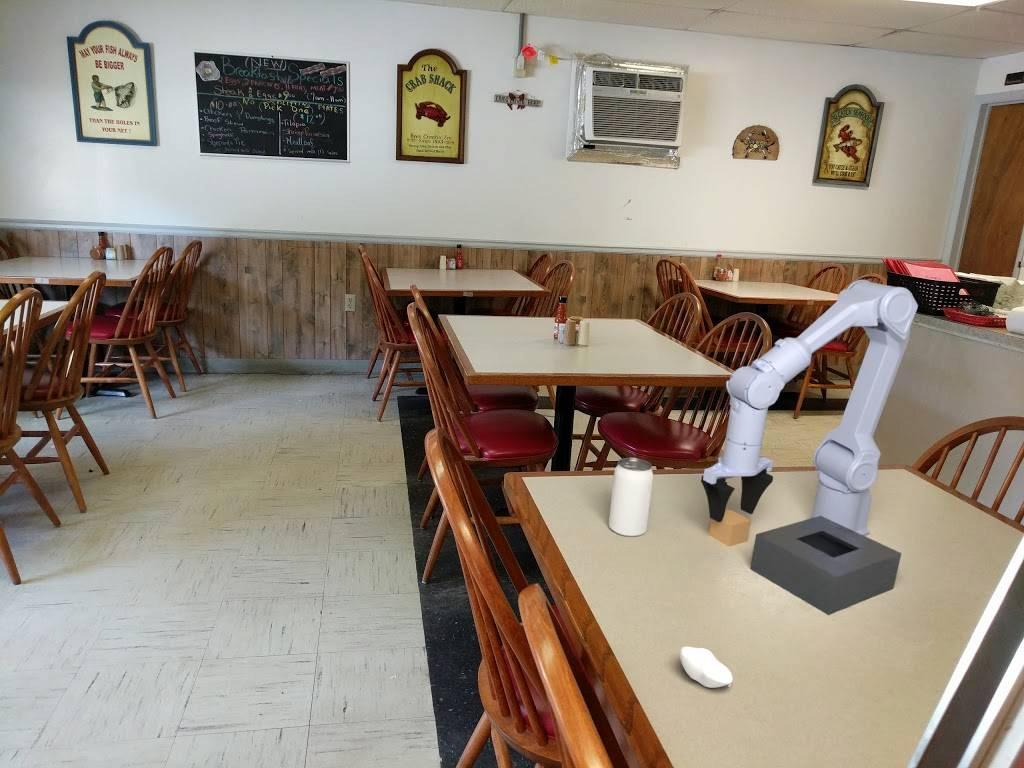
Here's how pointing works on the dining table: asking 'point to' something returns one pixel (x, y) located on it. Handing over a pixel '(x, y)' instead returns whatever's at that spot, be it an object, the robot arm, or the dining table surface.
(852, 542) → the grey box with hole
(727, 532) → the block
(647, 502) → the can
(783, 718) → the dining table surface
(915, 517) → the dining table surface
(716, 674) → the dumpling
